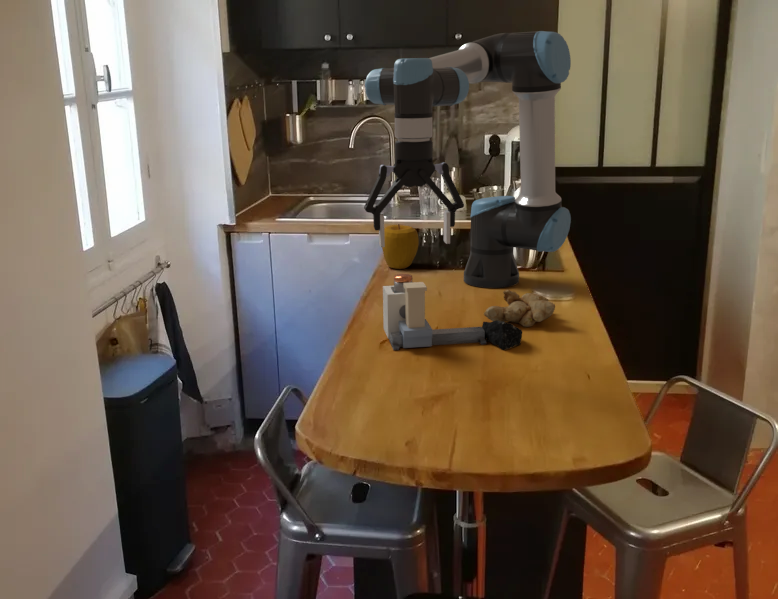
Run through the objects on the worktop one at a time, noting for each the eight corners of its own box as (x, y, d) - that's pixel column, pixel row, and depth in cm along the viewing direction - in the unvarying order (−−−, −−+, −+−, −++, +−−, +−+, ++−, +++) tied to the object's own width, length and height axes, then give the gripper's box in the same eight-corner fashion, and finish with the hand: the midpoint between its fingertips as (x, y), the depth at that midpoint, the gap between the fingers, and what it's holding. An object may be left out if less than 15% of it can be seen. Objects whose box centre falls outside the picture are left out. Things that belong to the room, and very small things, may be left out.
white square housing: (418, 326, 180) (418, 284, 177) (424, 337, 173) (424, 293, 170) (383, 328, 178) (382, 286, 176) (388, 339, 171) (387, 295, 169)
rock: (501, 332, 175) (502, 307, 174) (529, 346, 167) (530, 319, 165) (475, 337, 172) (475, 312, 171) (502, 352, 164) (503, 325, 162)
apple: (425, 265, 235) (425, 222, 231) (406, 273, 226) (405, 229, 223) (393, 261, 241) (393, 219, 237) (374, 268, 232) (373, 225, 228)
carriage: (425, 336, 172) (425, 279, 168) (432, 347, 165) (432, 288, 162) (398, 338, 171) (398, 281, 167) (404, 349, 164) (403, 290, 161)
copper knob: (410, 299, 176) (410, 273, 174) (413, 304, 172) (413, 278, 170) (392, 300, 175) (392, 274, 174) (395, 305, 172) (395, 278, 170)
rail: (479, 335, 173) (479, 324, 172) (486, 344, 167) (486, 333, 167) (389, 340, 170) (389, 330, 170) (393, 350, 165) (393, 339, 164)
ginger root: (566, 309, 187) (564, 279, 183) (549, 344, 174) (547, 313, 171) (502, 303, 193) (500, 274, 190) (482, 337, 181) (479, 307, 177)
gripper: (470, 135, 161) (469, 237, 167) (349, 139, 158) (352, 243, 164) (479, 139, 154) (478, 244, 160) (353, 143, 151) (356, 251, 157)
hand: (414, 244), depth 162 cm, fingers open, 13 cm apart
